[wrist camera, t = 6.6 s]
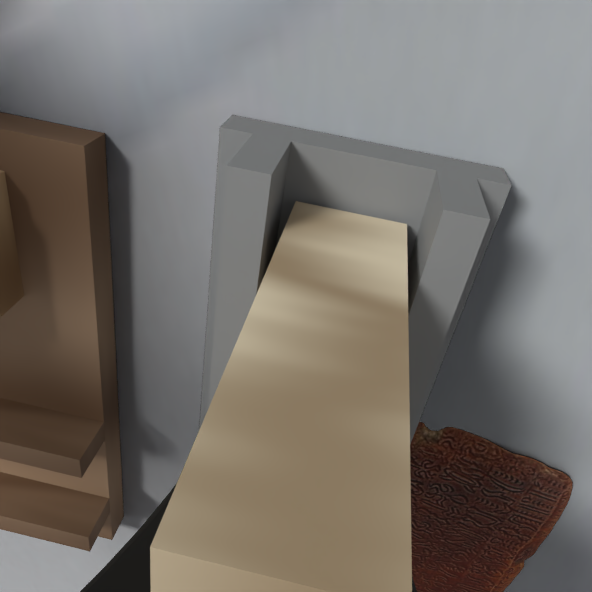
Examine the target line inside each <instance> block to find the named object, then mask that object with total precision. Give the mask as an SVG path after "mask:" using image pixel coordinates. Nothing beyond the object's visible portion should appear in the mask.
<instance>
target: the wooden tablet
mask: <svg viewBox="0 0 592 592" xmlns="http://www.w3.org/2000/svg"><path fill="white" fill-rule="evenodd" d="M410 476H411V548H412V577H413V580H414V583H415V587H416V590H417V592H503V591H504V590H505V588H506V587H507V586H508V585H509V584H510V583H511V582H512V581H513V579H514V578H515V577H516V576H517V575H518V574H519V572H520V571H521V570H522V569H523V567H524V560H526V559H527V558H529V557H531V556H532V555H533V554H534V553H535V552H536V550H537V549H538V547H539V545H540V544H541V543H542V542H543V541H544V539H545V538H546V537H547V535H548V534H549V533H550V532H551V530H552V528H553V527H554V525H555V524H556V522H557V521H558V519H559V518H560V516H561V514H562V512H563V510H564V509H565V507H566V505H567V503H568V501H569V498H570V495H571V491H572V481H571V479H570V477H569V476H568V475H566V474H564V473H563V472H561V471H558V470H555V469H552V468H549V467H547V466H546V465H544V464H543V463H541V462H539V461H536V460H535V459H532V458H529V457H526V456H521V455H517V454H514V453H511V452H509V451H507V450H505V449H503V448H501V447H499V446H498V445H496V444H494V443H492V442H490V441H488V440H486V439H484V438H482V437H479V436H477V435H474V434H472V433H469V432H466V431H463V430H460V429H456V428H453V427H446V428H444V429H441V430H439V431H431V430H429V429H428V428H427V427H426V426H425V424H424V423H422V422H419V423H418V426H417V428H416V431H415V434H414V436H413V439H412V441H411V444H410Z"/></svg>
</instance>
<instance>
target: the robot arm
mask: <svg viewBox="0 0 592 592" xmlns="http://www.w3.org/2000/svg"><path fill="white" fill-rule="evenodd" d="M175 487H176V485H175V486H174V488H173V489H172V490H171V492H170V493H169V494H168V495H167V497H166V498H165V499H164V500H163V501H162V503H161V504H160V505H159V506H158V507H157V509H156V510H155V511H154V512H153V514H152V515H151V516H150V517H149V518H148V520H147V521H146V522H145V523H144V524H143V526H142V527H141V528H140V529H139V530H138V531H137V532H136V533H135V535H134V536H133V537H132V538H131V539H130V540H129V541H128V542H127V543H126V544H125V545H124V547H123V548H122V549H121V550H120V551H119V552H118V553H117V554H116V555H115V556H114V557H113V559H112V560H111V561H110V562H109V563H108V564H107V565H106V566H105V567H104V568H103V569H102V570H101V571H100V572H99V573H98V574H97V575H96V576H95V577H94V578H93V579H92V580H91V581H90V582H89V583H88V584H87V585H86V586H85V587H84V588H83V589H82V590H81V591H80V592H151V580H150V546H151V544H152V541H153V539H154V537H155V534H156V532H157V530H158V527H159V525H160V522H161V520H162V518H163V515H164V513H165V511H166V508H167V506H168V503H169V501H170V499H171V496H172V494H173V492H174V489H175ZM412 592H417V590H416V587H415V583H414V580H413V577H412Z"/></svg>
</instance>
